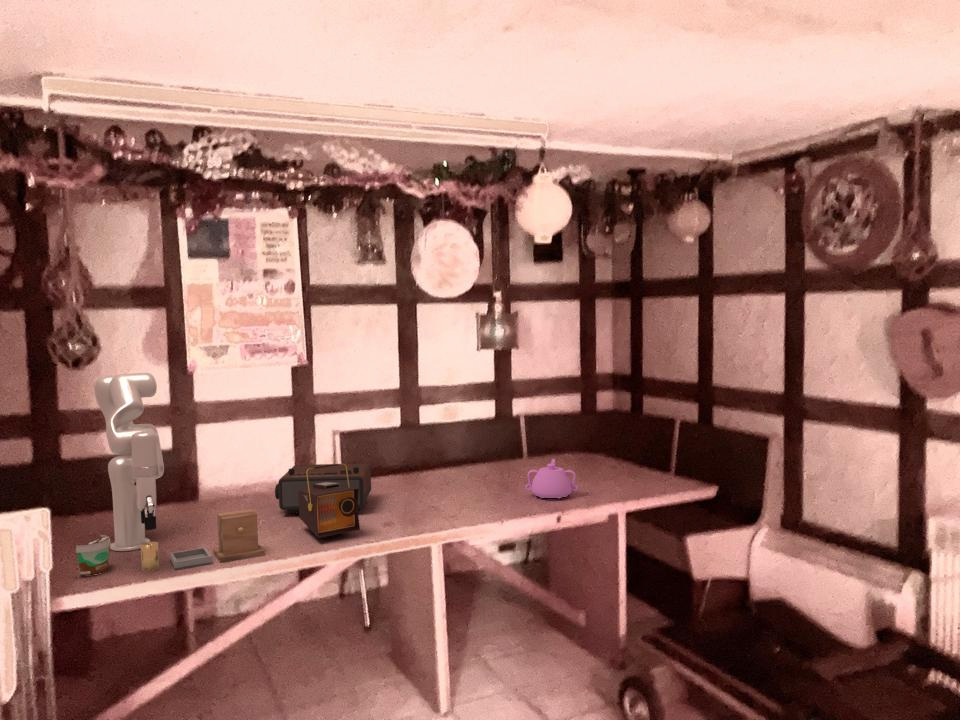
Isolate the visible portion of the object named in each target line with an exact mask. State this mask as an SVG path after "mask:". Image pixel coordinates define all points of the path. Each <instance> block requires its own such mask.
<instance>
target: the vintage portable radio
mask: <svg viewBox="0 0 960 720" xmlns="http://www.w3.org/2000/svg"><path fill="white" fill-rule="evenodd" d="M332 464H333V465H327V466H320V467H314V469H316V468H323V467H329V466H336V465H340V464H341V463H332ZM342 464H343V465H345V464H346V463H342ZM345 467H346V473H347V480H348V472H347V466H346V465H345ZM310 469H313V468H310ZM308 470H309V469H308ZM308 470H307V472H308ZM307 472H306V475H307V482H308V474H307ZM358 493H359V488H350V487H349V480H348V488H347V487H340V483H331V482H323V483H317V484H313V488H309V482H308V489H303V490H298V494H299V512H298V515H299V519H300V520H301V521H302V523H304V524H305V525H306V527H308V529H309V530H310V531H311V532H312V533H313V534H314V535H315V537H317V538H318V539H322V538H324V539H325V538H326V537H330V536H335V535H339V534H345V533H350V532H355V531H360V530H361V526H360V519H359V510H357V509H358Z"/></svg>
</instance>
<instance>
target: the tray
mask: <svg viewBox="0 0 960 720" xmlns="http://www.w3.org/2000/svg"><path fill="white" fill-rule="evenodd" d="M169 561H170V563H171V565H172V566H173V569H174V571H179V570H184V569H190V568H195V567H201V566H207V564H208V565H212V564H213V555H212V554H211V553H210V552H209V550H208V549H207V547H198V548H192V549H186V550H180V551H173V552H170V553H169Z"/></svg>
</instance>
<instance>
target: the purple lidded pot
mask: <svg viewBox="0 0 960 720" xmlns="http://www.w3.org/2000/svg"><path fill="white" fill-rule="evenodd" d="M546 465H547V466H545V467H541V468H539V469H531V470H529V471H528V473H527V481H528V483H527V484H526V485H525V490H526V491H528V492H531V493H532V494H533V495H534V496H535V495H536V496H539V497H544V498H558V497H564V496H568V495H569V494H570V495H571V494H572V492H577V491H579V487H578V485H577V484H575V483H576V479H577V474H576V472H574V471H573V470H571V469H567V470H565V469H564V467H563V468H562V467H560V466H556V459H555V458H552V459H551V462H550V463H547V464H546ZM532 473H535V475H534V477H533V479H532V480H531V474H532ZM567 473H569V474H572V476H573V477H572V481H571V479H570V477H569V475H568V474H567ZM570 495H569V496H570ZM536 496H535V497H536ZM569 496H568V497H569Z"/></svg>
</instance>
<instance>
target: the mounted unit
mask: <svg viewBox="0 0 960 720" xmlns="http://www.w3.org/2000/svg"><path fill="white" fill-rule="evenodd" d="M216 515H217V531H218V532H217V534H218V535H217V537H218V547H215V548H213V549H212V550H213V551H212V553H213V554H214V556H215V557H216V559H217V560H218V561H219V563H220V564H221V563H222V564H223V563H226V562H227V563H228V562H234V561H239V560H240V561H241V560H246V559H250V558H256V557H262V556H265V555H266V554H265V552H266V551H265V550H264V549H263V548H262V547H261V545H260V544H259V534H258V530H259V529H258V528H259V527H258V514H257V512H255V511H254V510H253V509H252V508H247V509H241V510H233V511H226V512H221V513H220V512H218V513H217V514H216Z"/></svg>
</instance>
